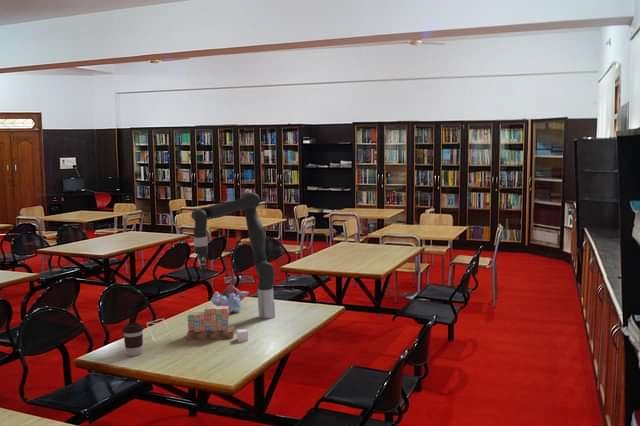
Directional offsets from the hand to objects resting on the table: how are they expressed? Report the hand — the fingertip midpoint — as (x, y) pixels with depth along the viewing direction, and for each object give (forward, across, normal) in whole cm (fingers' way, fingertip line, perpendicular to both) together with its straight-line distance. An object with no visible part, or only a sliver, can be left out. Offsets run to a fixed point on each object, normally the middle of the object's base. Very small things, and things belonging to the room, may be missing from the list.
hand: (202, 273), depth 323 cm
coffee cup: (+31, -32, +39) cm, 59 cm away
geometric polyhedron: (+31, -10, +26) cm, 41 cm away
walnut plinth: (+32, -18, -1) cm, 37 cm away
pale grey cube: (+31, -31, -16) cm, 47 cm away
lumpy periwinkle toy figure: (+32, +30, -19) cm, 47 cm away
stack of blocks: (+28, -18, 0) cm, 33 cm away
